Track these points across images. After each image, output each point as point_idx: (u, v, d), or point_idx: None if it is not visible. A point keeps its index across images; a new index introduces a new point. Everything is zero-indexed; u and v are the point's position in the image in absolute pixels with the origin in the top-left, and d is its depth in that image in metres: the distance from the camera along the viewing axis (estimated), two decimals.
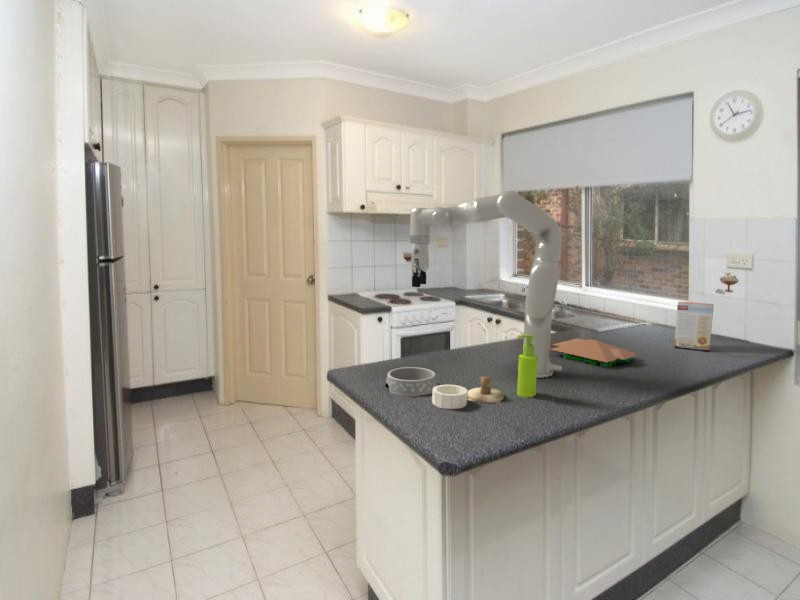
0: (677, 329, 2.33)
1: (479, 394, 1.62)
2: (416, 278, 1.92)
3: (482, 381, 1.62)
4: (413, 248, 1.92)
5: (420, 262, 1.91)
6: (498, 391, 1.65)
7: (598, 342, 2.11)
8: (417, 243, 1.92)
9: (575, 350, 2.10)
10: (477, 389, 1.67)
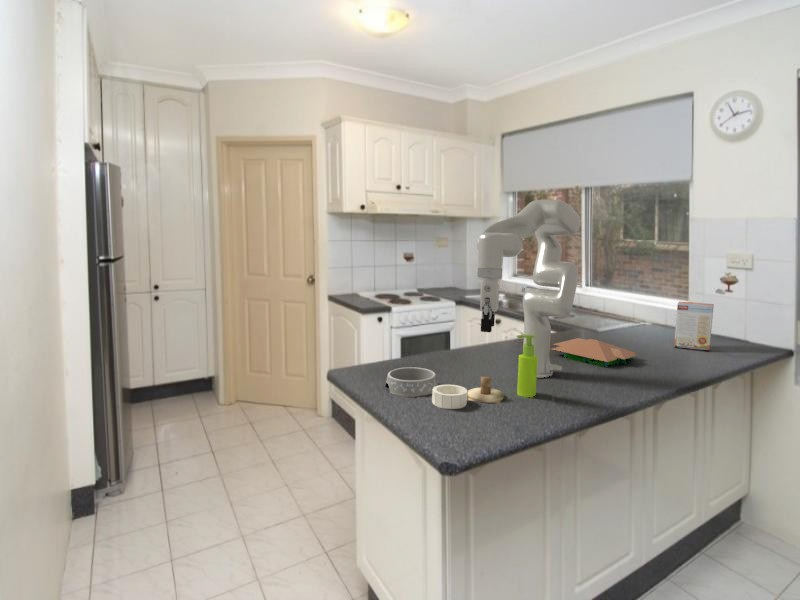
0: (677, 329, 2.33)
1: (479, 394, 1.62)
2: (487, 321, 1.54)
3: (482, 381, 1.62)
4: (483, 284, 1.54)
5: (492, 302, 1.54)
6: (498, 391, 1.65)
7: (599, 342, 2.12)
8: (488, 278, 1.54)
9: (576, 350, 2.11)
10: (477, 389, 1.67)
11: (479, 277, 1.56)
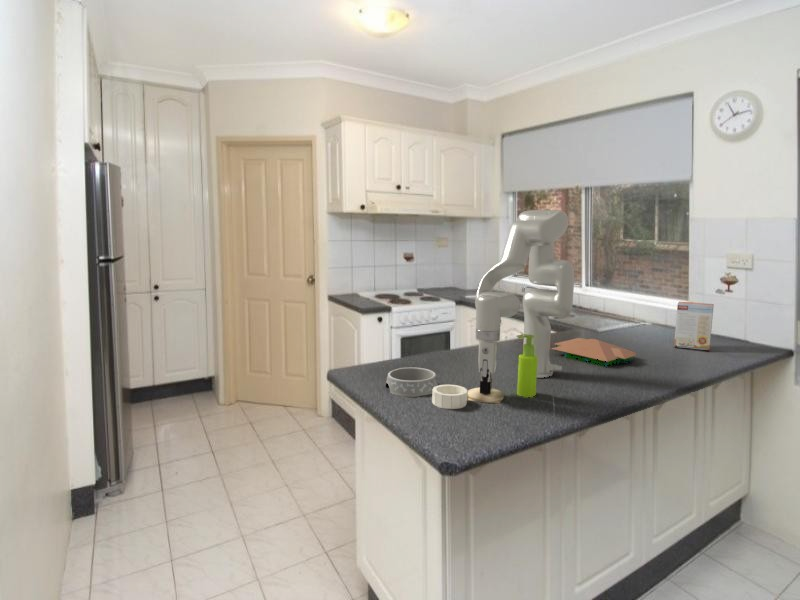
0: (677, 329, 2.33)
1: (479, 394, 1.62)
2: (485, 384, 1.60)
3: None
4: (481, 346, 1.57)
5: (490, 364, 1.57)
6: (498, 391, 1.65)
7: (599, 341, 2.12)
8: (486, 340, 1.57)
9: (576, 349, 2.12)
10: (477, 389, 1.67)
11: (477, 338, 1.59)
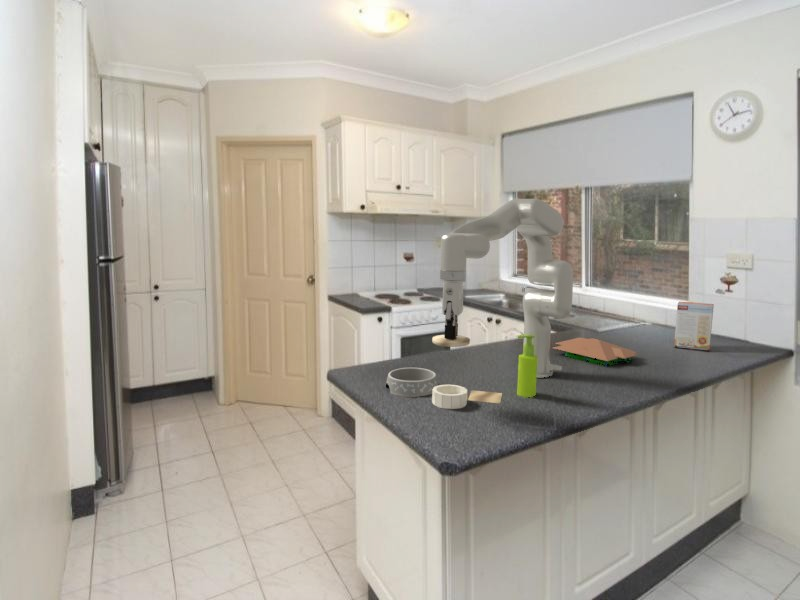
0: (677, 329, 2.33)
1: (444, 339, 1.53)
2: (450, 328, 1.51)
3: None
4: (445, 287, 1.48)
5: (454, 305, 1.48)
6: (465, 337, 1.56)
7: (600, 341, 2.13)
8: (450, 280, 1.48)
9: (577, 349, 2.13)
10: (443, 335, 1.58)
11: (441, 279, 1.50)
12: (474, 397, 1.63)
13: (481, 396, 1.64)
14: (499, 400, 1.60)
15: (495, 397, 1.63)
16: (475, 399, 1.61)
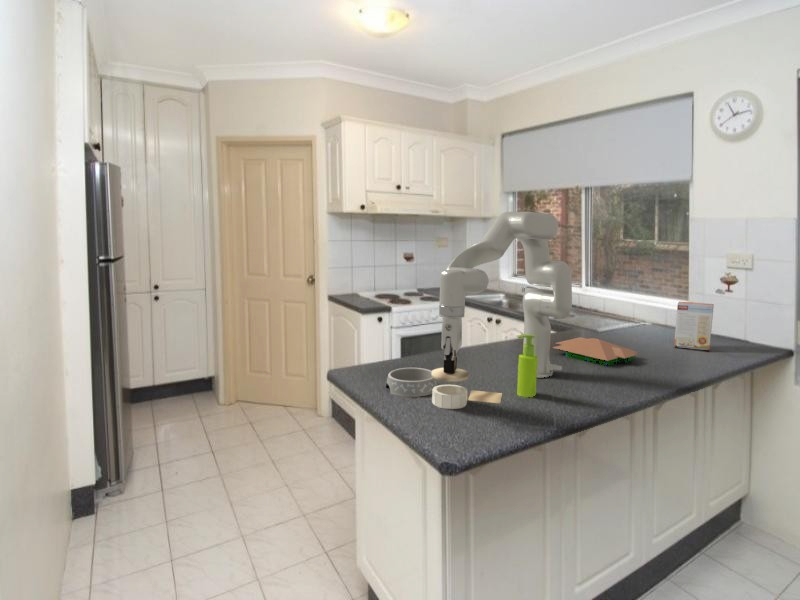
0: (677, 329, 2.33)
1: (443, 373, 1.54)
2: (449, 363, 1.53)
3: None
4: (444, 322, 1.50)
5: (453, 341, 1.49)
6: (463, 371, 1.58)
7: (600, 341, 2.13)
8: (449, 316, 1.50)
9: (577, 348, 2.13)
10: (442, 368, 1.60)
11: (440, 315, 1.52)
12: (474, 397, 1.63)
13: (481, 396, 1.64)
14: (499, 400, 1.60)
15: (495, 397, 1.63)
16: (475, 399, 1.61)
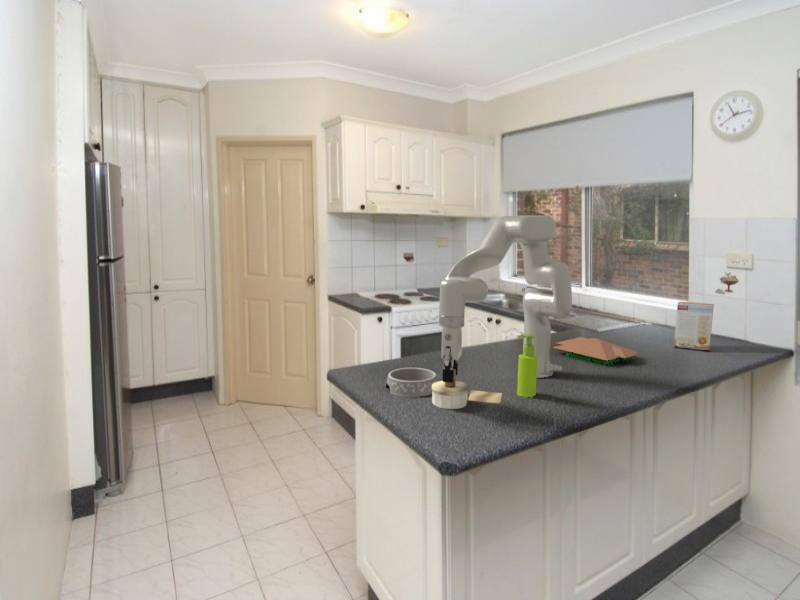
0: (677, 329, 2.33)
1: (443, 387, 1.55)
2: (448, 372, 1.51)
3: None
4: (444, 332, 1.50)
5: (453, 350, 1.50)
6: (463, 384, 1.58)
7: (600, 341, 2.14)
8: (449, 326, 1.50)
9: (577, 348, 2.14)
10: (442, 382, 1.61)
11: (440, 324, 1.52)
12: (474, 397, 1.63)
13: (481, 396, 1.64)
14: (499, 400, 1.60)
15: (495, 397, 1.63)
16: (475, 399, 1.61)
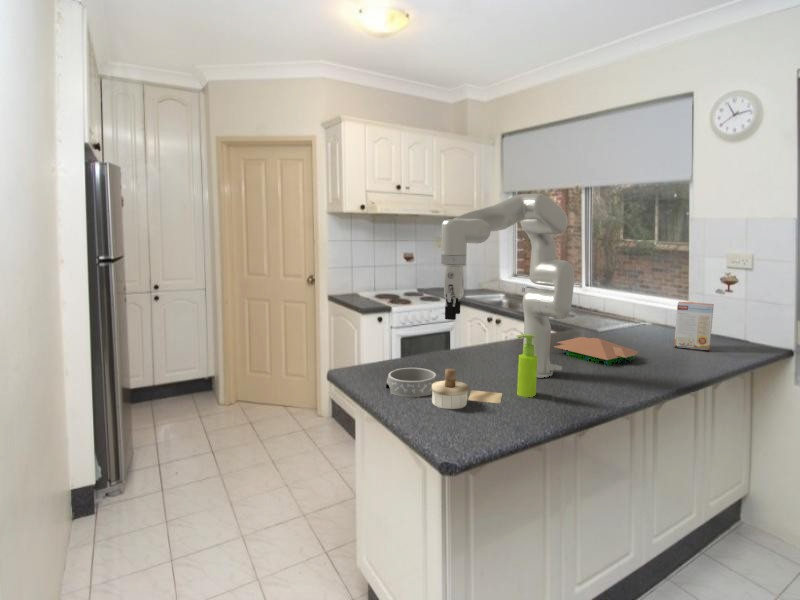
0: (677, 329, 2.33)
1: (443, 387, 1.55)
2: (451, 309, 1.52)
3: (446, 373, 1.55)
4: (446, 271, 1.52)
5: (455, 289, 1.51)
6: (463, 384, 1.58)
7: (601, 340, 2.14)
8: (451, 264, 1.52)
9: (578, 348, 2.14)
10: (442, 382, 1.61)
11: (442, 264, 1.54)
12: (474, 397, 1.63)
13: (481, 396, 1.64)
14: (499, 400, 1.60)
15: (495, 397, 1.63)
16: (475, 399, 1.61)
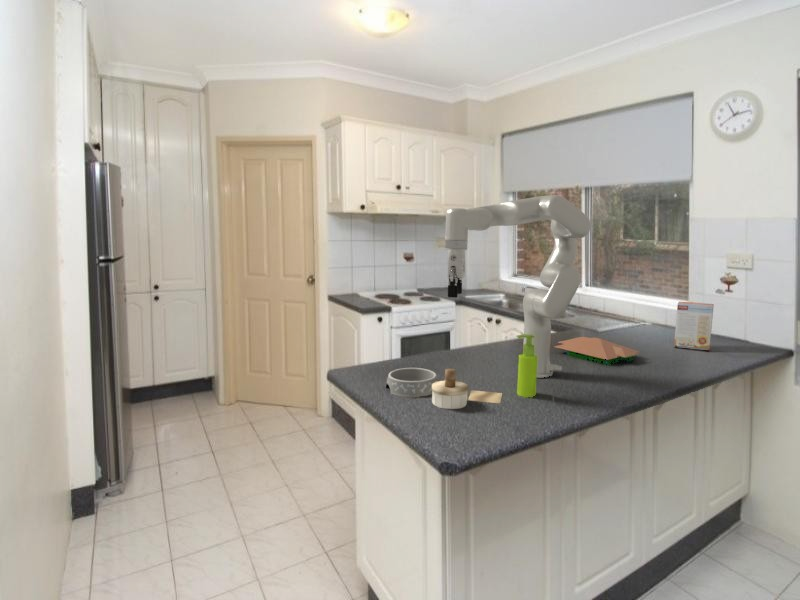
0: (677, 329, 2.33)
1: (443, 387, 1.55)
2: (453, 287, 1.71)
3: (446, 373, 1.55)
4: (449, 254, 1.71)
5: (457, 270, 1.70)
6: (463, 384, 1.58)
7: (601, 340, 2.15)
8: (454, 248, 1.71)
9: (578, 347, 2.15)
10: (442, 382, 1.61)
11: (446, 248, 1.73)
12: (474, 397, 1.63)
13: (481, 396, 1.64)
14: (499, 400, 1.60)
15: (495, 397, 1.63)
16: (475, 399, 1.61)
